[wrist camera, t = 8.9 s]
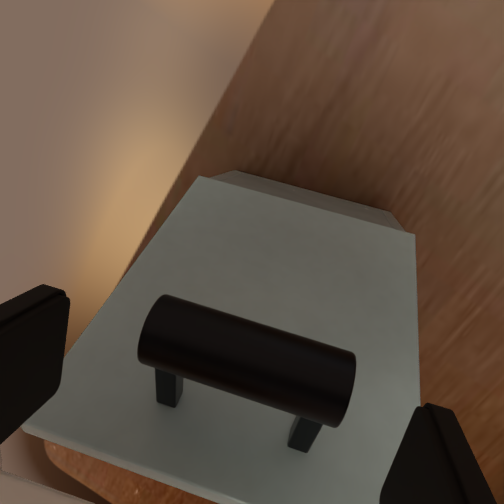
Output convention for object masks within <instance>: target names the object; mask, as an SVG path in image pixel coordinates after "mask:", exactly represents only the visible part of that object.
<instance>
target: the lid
mask: <svg viewBox="0 0 504 504" xmlns="http://www.w3.org/2000/svg"><path fill="white" fill-rule="evenodd" d="M417 406H420V376H419V343H418V310H417V277H416V244H415V234H411V233H408V232H404V231H400V230H397V229H393V228H390V227H386V226H382V225H379V224H375V223H371V222H368V221H364V220H360V219H357V218H353V217H349V216H346V215H342V214H338V213H335V212H331V211H327V210H324V209H320V208H316V207H313V206H309V205H306V204H302V203H298V202H295V201H291V200H287V199H284V198H280V197H276V196H273V195H269V194H265V193H262V192H258V191H254V190H251V189H247V188H243V187H240V186H236V185H232V184H229V183H225V182H222V181H218V180H214V179H211V178H207V177H203V176H198V177H197V179H196V180H195V181H194V183H193V184H192V185H191V187H190V188H189V189H188V191H187V192H186V193H185V195H184V196H183V198H182V199H181V200H180V202H179V203H178V204H177V206H176V207H175V208H174V210H173V211H172V212H171V214H170V215H169V216H168V218H167V219H166V221H165V222H164V223H163V225H162V226H161V227H160V229H159V230H158V231H157V233H156V234H155V235H154V237H153V238H152V239H151V241H150V242H149V244H148V245H147V246H146V248H145V249H144V250H143V252H142V253H141V254H140V256H139V257H138V258H137V260H136V261H135V262H134V264H133V265H132V267H131V268H130V269H129V271H128V272H127V273H126V275H125V276H124V277H123V279H122V280H121V281H120V283H119V284H118V285H117V287H116V288H115V290H114V291H113V292H112V294H111V295H110V296H109V298H108V299H107V300H106V302H105V303H104V305H103V306H102V307H101V309H100V310H99V311H98V313H97V314H96V315H95V317H94V318H93V319H92V321H91V322H90V323H89V325H88V326H87V328H86V329H85V330H84V331H83V333H82V334H81V336H80V337H79V338H78V340H77V341H76V342H75V344H74V345H73V346H72V348H71V349H70V351H69V352H68V353H67V354H66V356H65V357H64V359H63V367H62V376H61V383H60V386H59V388H58V390H57V392H56V393H55V395H54V396H53V397H52V398H50V399H49V400H48V401H47V402H46V403H45V404H44V405H43V406H42V407H41V408H40V409H38V410H37V411H36V412H35V413H34V414H33V415H32V416H31V417H30V418H29V419H28V420H26V421H25V422H24V423H23V424H22V425H21V428H22V429H23V431H24V432H26V433H29V434H32V435H34V436H37V437H40V438H43V439H45V440H48V441H51V442H54V443H56V444H59V445H62V446H64V447H67V448H70V449H73V450H75V451H78V452H81V453H83V454H86V455H89V456H92V457H94V458H97V459H100V460H102V461H105V462H108V463H111V464H113V465H116V466H119V467H121V468H124V469H127V470H130V471H132V472H135V473H138V474H141V475H143V476H146V477H149V478H151V479H154V480H157V481H160V482H162V483H165V484H168V485H170V486H173V487H176V488H179V489H181V490H184V491H187V492H189V493H192V494H195V495H198V496H200V497H203V498H206V499H208V500H211V501H214V502H217V503H219V504H379V498H380V492H381V489H382V486H383V484H384V482H385V479H386V477H387V474H388V472H389V470H390V467H391V465H392V462H393V460H394V458H395V455H396V453H397V451H398V448H399V446H400V443H401V441H402V439H403V436H404V434H405V431H406V429H407V427H408V424H409V422H410V419H411V417H412V415H413V412H414V410H415V408H416V407H417Z"/></svg>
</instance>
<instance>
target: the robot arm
mask: <svg viewBox="0 0 504 504" xmlns="http://www.w3.org/2000/svg"><path fill="white" fill-rule="evenodd" d="M69 309H70V299H69V298H68V297H66V293H65V291H64V290H61V289H58V288H54V287H51V286H48V285H44V284H42V285H39V286H37V287H35V288H33V289H31V290H29V291H27V292H25V293H23V294H21V295H19V296H17V297H15V298H13V299H10V300H9V301H6V302H4V303H2V304H0V444H1V443H2V442H3V441H5V440H6V439H7V438H8V437H9V436H10V435H11V434H12V433H13V432H14V431H16V430H17V429H18V428H19V427H20V426H21V425H22V424H23V423H24V422H25V421H26V420H28V419H29V418H30V417H31V416H32V415H33V414H34V413H35V412H36V411H37V410H38V409H40V408H41V407H42V406H43V405H44V404H45V403H46V402H47V401H48V400H49V399H50V398H52V397H53V396H54V395H55V393H56V392H57V390H58V388H59V386H60V383H61V376H62V367H63V359H64V350H65V342H66V334H67V326H68V318H69V317H68V316H69ZM0 504H94V503H92V502H89V501H86V500H83V499H81V498H78V497H75V496H72V495H70V494H66V493H64V492H61V491H58V490H55V489H53V488H50V487H47V486H44V485H41V484H39V483H36V482H33V481H30V480H27V479H25V478H22V477H19V476H16V475H13V474H11V473H8V472H5V471H2V470H0ZM379 504H497V503H496V501H495V499H494V497H493V495H492V492H491V490H490V488H489V486H488V484H487V482H486V480H485V478H484V476H483V473H482V471H481V469H480V467H479V465H478V463H477V461H476V459H475V456H474V454H473V452H472V450H471V448H470V446H469V444H468V442H467V440H466V437H465V435H464V433H463V431H462V429H461V427H460V425H459V423H458V421H457V418H456V416H455V414H454V412H453V411H452V410H450V409H447V408H443V407H440V406H437V405H434V404H430V403H426V404H425V405H424V406H423V407H420V406H417V407H416V408H415V410H414V412H413V415H412V417H411V419H410V422H409V424H408V427H407V429H406V431H405V434H404V436H403V439H402V441H401V443H400V446H399V448H398V451H397V453H396V455H395V458H394V460H393V462H392V465H391V467H390V470H389V472H388V474H387V477H386V479H385V482H384V484H383V486H382V489H381V492H380V498H379Z"/></svg>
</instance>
